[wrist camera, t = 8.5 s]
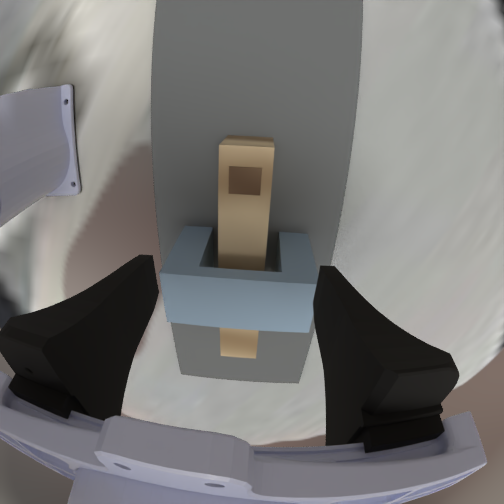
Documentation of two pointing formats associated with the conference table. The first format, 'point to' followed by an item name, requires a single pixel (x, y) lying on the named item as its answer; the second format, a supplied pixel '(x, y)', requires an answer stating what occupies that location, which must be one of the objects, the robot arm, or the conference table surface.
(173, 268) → the light blue u-channel
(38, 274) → the conference table surface
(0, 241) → the conference table surface
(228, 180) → the tan wooden bar
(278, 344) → the mat
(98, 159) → the conference table surface
